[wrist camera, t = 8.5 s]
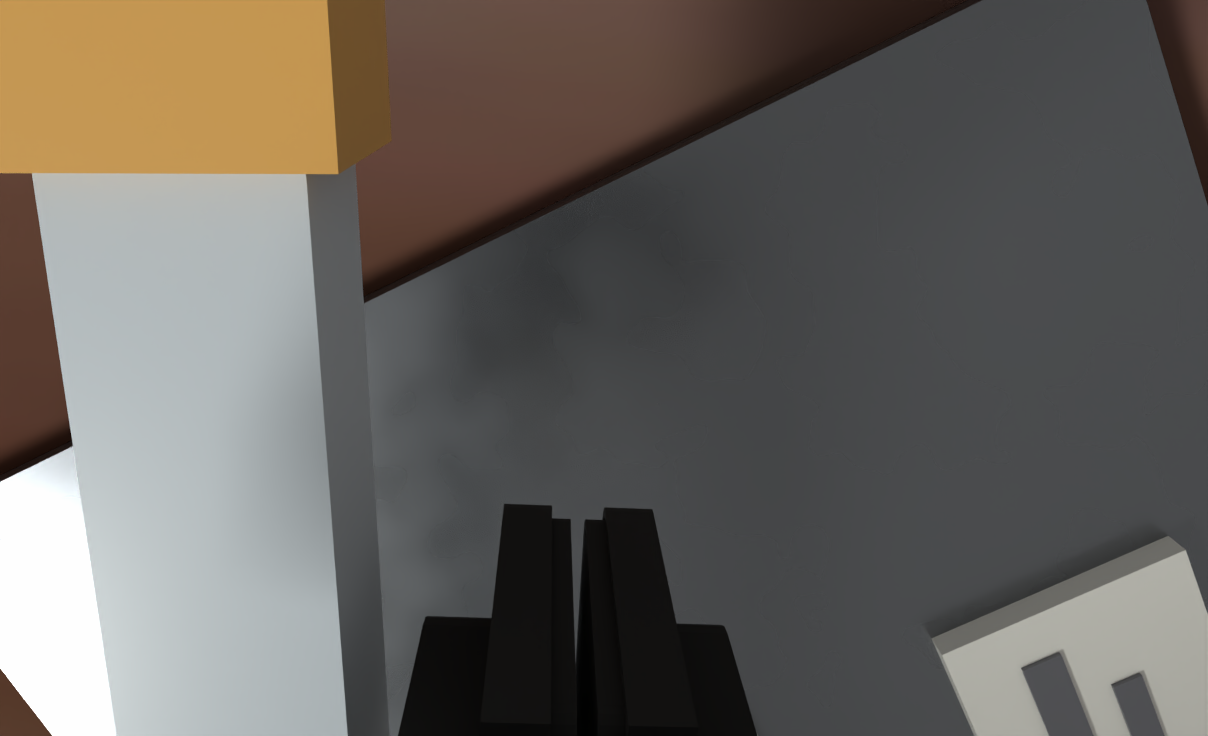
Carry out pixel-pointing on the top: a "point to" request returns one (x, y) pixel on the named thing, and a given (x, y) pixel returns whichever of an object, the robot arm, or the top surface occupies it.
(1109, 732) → the label plate
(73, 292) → the bar
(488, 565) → the board
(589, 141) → the top surface
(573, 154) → the top surface
